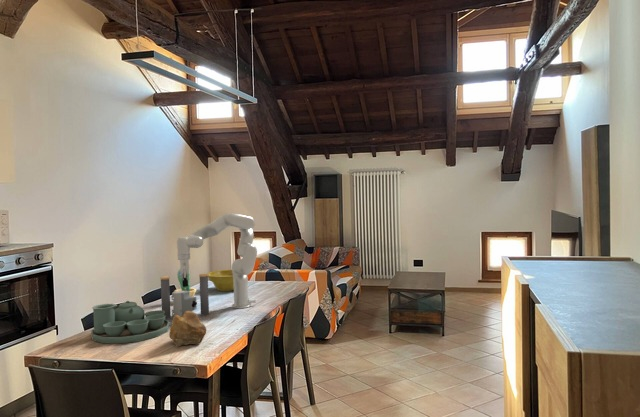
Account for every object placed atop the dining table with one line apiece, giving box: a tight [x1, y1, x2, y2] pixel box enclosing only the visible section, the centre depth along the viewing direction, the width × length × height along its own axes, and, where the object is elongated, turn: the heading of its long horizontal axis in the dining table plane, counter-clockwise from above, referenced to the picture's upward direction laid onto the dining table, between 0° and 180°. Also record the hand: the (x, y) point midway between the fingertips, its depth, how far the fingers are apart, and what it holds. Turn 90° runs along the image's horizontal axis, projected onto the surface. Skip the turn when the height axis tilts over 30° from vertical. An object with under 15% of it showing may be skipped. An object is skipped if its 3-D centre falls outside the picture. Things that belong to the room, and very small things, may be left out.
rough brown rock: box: [169, 311, 207, 347], centre depth 237 cm, size 23×17×15 cm
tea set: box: [90, 300, 170, 344], centre depth 258 cm, size 40×40×16 cm
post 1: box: [160, 276, 172, 320], centre depth 288 cm, size 5×5×25 cm
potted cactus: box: [173, 268, 197, 297], centre depth 333 cm, size 15×15×25 cm
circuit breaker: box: [171, 291, 198, 318], centre depth 291 cm, size 8×14×15 cm, turn 78°
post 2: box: [198, 273, 210, 316], centre depth 294 cm, size 5×5×25 cm
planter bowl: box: [206, 269, 234, 292], centre depth 374 cm, size 32×32×13 cm
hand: (185, 286), depth 291 cm, fingers closed
